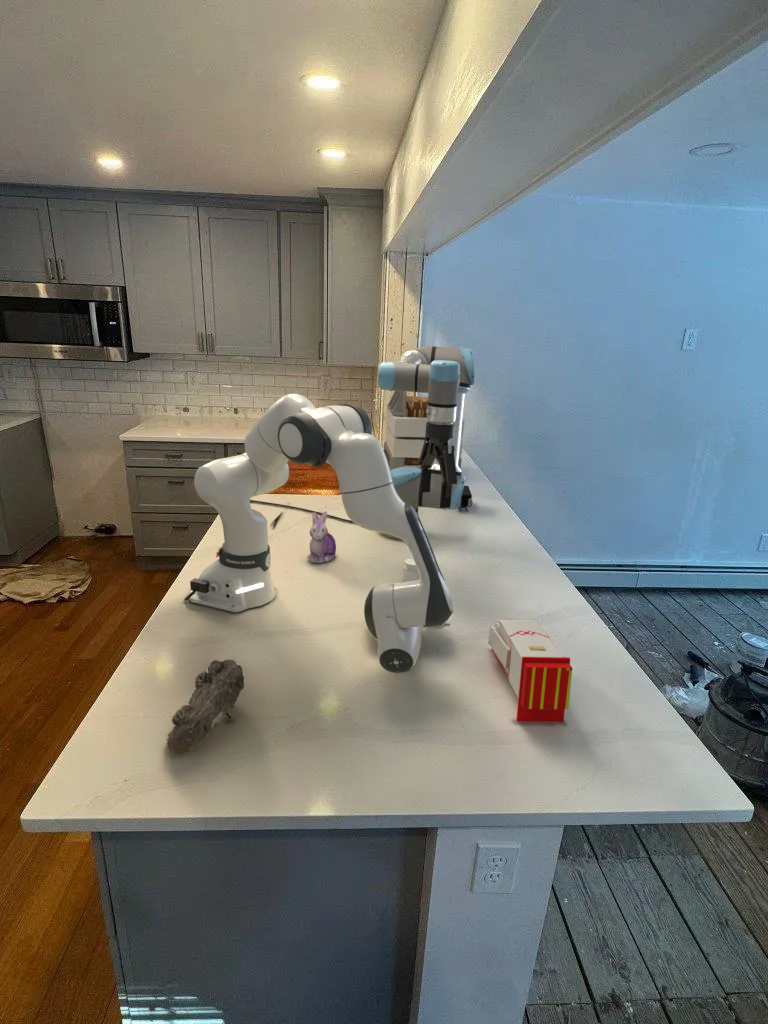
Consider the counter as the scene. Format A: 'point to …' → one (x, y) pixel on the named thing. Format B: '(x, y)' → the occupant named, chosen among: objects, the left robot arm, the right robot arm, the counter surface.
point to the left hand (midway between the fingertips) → (411, 594)
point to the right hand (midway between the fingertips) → (434, 499)
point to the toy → (533, 669)
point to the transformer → (407, 430)
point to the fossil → (206, 705)
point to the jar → (410, 571)
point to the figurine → (321, 540)
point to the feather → (276, 520)
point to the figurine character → (465, 499)
